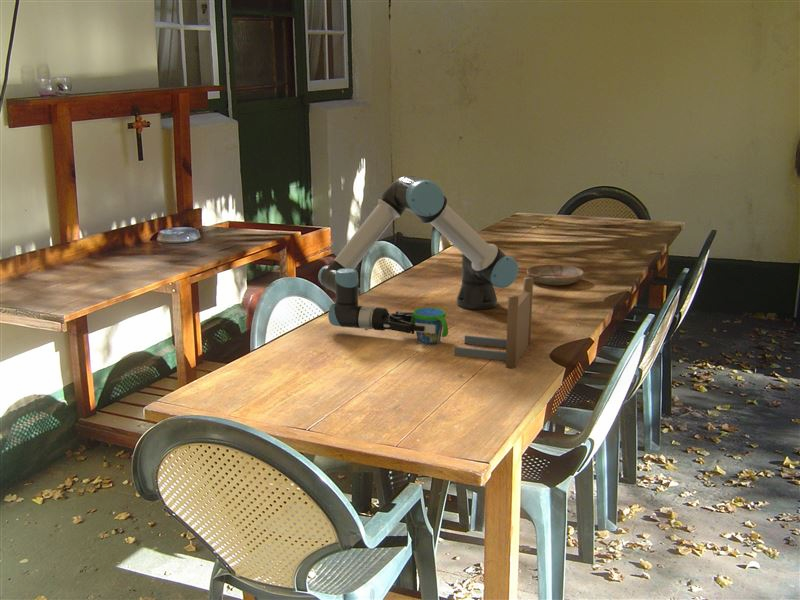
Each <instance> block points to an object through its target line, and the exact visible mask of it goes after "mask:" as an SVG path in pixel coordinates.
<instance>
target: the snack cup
mask: <svg viewBox="0 0 800 600" xmlns="http://www.w3.org/2000/svg"><path fill="white" fill-rule="evenodd" d="M412 312H413V314H412V317H411V323H413V324H415V323H422V324H432V325H435V334H434V333H424V332H415V333H416V338H417V342H418V343H422V344H425V345H434V344H438V343H440V341H441V340H442V339H441V338H445V337H447V336H448V334H449V328H448V323H447V319H446V315H447V313H446V312H447V311H445V310H444V309H441V308H437V307H420V308H416V309H414V310H413V311H412Z"/></svg>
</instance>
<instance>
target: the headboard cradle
mask: <svg viewBox="0 0 800 600" xmlns="http://www.w3.org/2000/svg"><path fill="white" fill-rule="evenodd" d="M533 286H534V280H533V278H531V277H529V276H526V277H523V285H522V287H523V288H522V293H521V294H520V296H519V295H516V294H511V295H508V298H507V299H508V301H507V320H506V321H507V324H506V325H507V327H506V338H498V337H496V338H495V337H487V336H480V335H479V336H477V335H467V334H465V335H464V344H466V343H467V345H477V346H478V345H479V346H486V345H488V347H495V346H496V348H497V347H498V348H506V351H500V350H491V349H490V350H489V349H479V348H472V347H471V348H470V347H462V346H461V347H460V346H454V348H453V349H454V351H453V356H458V357H467V358H475V359H477V358H479V359H484V360H485V359H486V360H494V361H496V360H497V361H503V362H504V361H505V368H507V369H515V368H517V364H518V362H519V360H520V359H521V357H522V355H523V354H524V352H525V350H526V349H527V348H528V346H530V345H531V335H532V318H533V317H532V313H533V311H532V310H533V293H534V292H533V291H534V290H533V289H534V287H533Z"/></svg>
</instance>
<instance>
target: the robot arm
mask: <svg viewBox="0 0 800 600" xmlns="http://www.w3.org/2000/svg"><path fill="white" fill-rule="evenodd" d="M406 211H408V212H410V213H412V214H413V215H414V216H415V217H417V219H419V220H420V222H422V223H423V224H426V225H428V224H430V225H431V226H433V227H434V228H435V230H436V231H438V232H439V233H440V234H441V235H442V236H443V237H444V238H446V239H447V241H449V242H450V243H451V244H452V245H453V246H454V247H455V248H456V249H457V250H459V252H460V253H461V256H462V258H461V259H462V260H461V264H462V265H461V285H460V288H459V291H458V294H457V297H456V305H457V306H458V307H460V308H463V309H468V310H488V309H493V308H496V307H498V306H497V305H498V298H497V294H496V291H495V288H499V289H504V288H508V287H510V286H511V285H512V284H513V283H514V282H515V281H516V279H517V277H518V275H519V264H518V262H517V260H516V259H515V258H514V257H512V256H511V255H507V254H506V253H505V252H504V251H502V250H501V249H500V248H499V247H498V246H497V245H496V244H494V243H488V242H487V241H486V240H485V239H484V238H483V237H481V236H480V235H479V233H478V232H477V231H475V230H474V229H473V228H472V227H471V226H470V225H469V224H468V223H467V222H466V221H465V220H464V219H463V218H462V217H461V216H459V215H458V213H456V212H455V211H454V210H453V208H451V207H450V206H449V205H448V198H447V197H446V196H445V195H444V192H443V189H442V188H441V186H440V185H438V184H436V182H434V181H432V180H430V179H427V178H420V177H416V176H414V175H404V176H401V177H399V178H397V179H396V180H394V181H393V182H392V183H391V184H390V185H389V186H387V188H386V189H385V191H383V192H382V194H381V195H380V197H379V198H378V199H377V205H376V207H374V209H373V210H372V211H371V213H370V214H369V215H368V217H366V219H365V220H364V222H363V223H362V224H361V225H360V226H359V228H358V229H357V230H356V232H355V233H354V234H353V235H352V236H351V238H350V239H349V240H348V242H347V243H346V244H345V245H344V247H342V249H341V250H340V252H339V253H338V254H337V256H336V257H334V259H333V261H332V262H331V263H330V264H329V265H324V266H322V267H321V268H320V270H319V271H318V275H317V278H318V282H319V283H320V284H321V285H322V286H323V287H324V288H325V289H327V290H330V291H331V292H333V293H334V294H335V303H331V305H330V306H329V309H328V315H327V316H328V321H329V323H330V324H331V325H332V326H336V327H341V328H353V329H364V330H365V331H368V330H375V331H382V332H383V331H385V330H390V331H395V332H400V333H406V334H411V335H415V333H416V332H424V333H434V334H435V325H432V324H422V323H415V324H413V323H411V317H412V314H413V312H414V311H409V312H408V311H399V310H397V311H395V312H393V313H389V310H388V309H387V308H385V307H374V306H367V305H366V306H365V305H359V283H360V281H359V274H358V271H357V270H356V268H357V266H358V265H359V263H361V262H362V260H363V259H364V257H365V256H366V255H367V254H368V253H369V251H370V250H371V248H372V247H373V246H374V245H375V243H377V242H378V240H379V239H380V238H381V236H382V235H383V233H385V231H386V230H387V228H388V227H389V226H390V225H391V224H392V223H393V221H394V220H395V219H397V218H400V217H401V216H402V215H403V213H405V212H406ZM494 287H495V288H494Z"/></svg>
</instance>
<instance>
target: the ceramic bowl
mask: <svg viewBox="0 0 800 600" xmlns="http://www.w3.org/2000/svg"><path fill="white" fill-rule="evenodd" d="M525 272H526V275H527V277H531V278H533V282H536V283H539V284H543V285H547V286H567V285H571V284H575V283H578V282H579V281H581V280H582V279H583V277H584V274H585V273H584V270H583V269H581V268H578V267H576V266H572V265H566V264H565V265H564V264H539V265H533V266H530V267H528V268H526V271H525Z"/></svg>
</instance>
